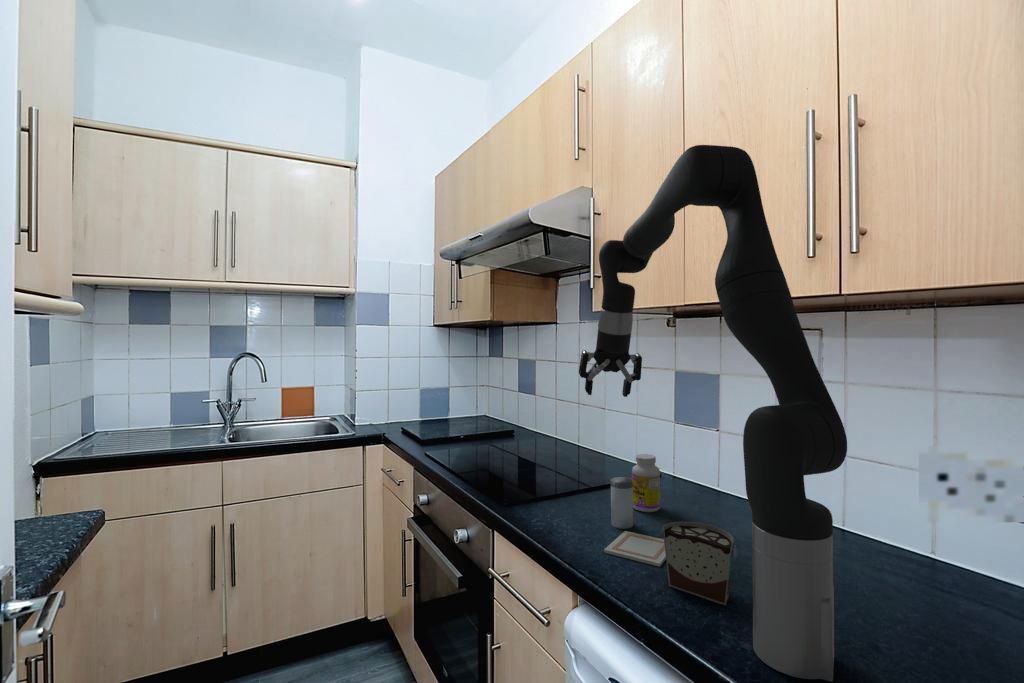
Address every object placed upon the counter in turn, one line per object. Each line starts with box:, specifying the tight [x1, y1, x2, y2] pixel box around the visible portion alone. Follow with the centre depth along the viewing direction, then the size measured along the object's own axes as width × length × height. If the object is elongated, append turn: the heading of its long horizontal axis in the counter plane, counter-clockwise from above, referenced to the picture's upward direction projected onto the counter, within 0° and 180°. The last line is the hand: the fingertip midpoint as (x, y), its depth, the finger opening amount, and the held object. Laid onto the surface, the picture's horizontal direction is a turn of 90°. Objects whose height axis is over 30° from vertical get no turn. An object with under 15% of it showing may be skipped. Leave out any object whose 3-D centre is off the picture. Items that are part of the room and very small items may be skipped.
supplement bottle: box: [631, 453, 661, 513], centre depth 121 cm, size 7×7×13 cm
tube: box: [610, 476, 634, 530], centre depth 111 cm, size 5×5×10 cm
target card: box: [603, 530, 666, 568], centre depth 98 cm, size 11×11×1 cm
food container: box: [659, 521, 738, 606], centre depth 83 cm, size 12×6×10 cm, turn 48°
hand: (607, 394), depth 117 cm, fingers open, 8 cm apart
